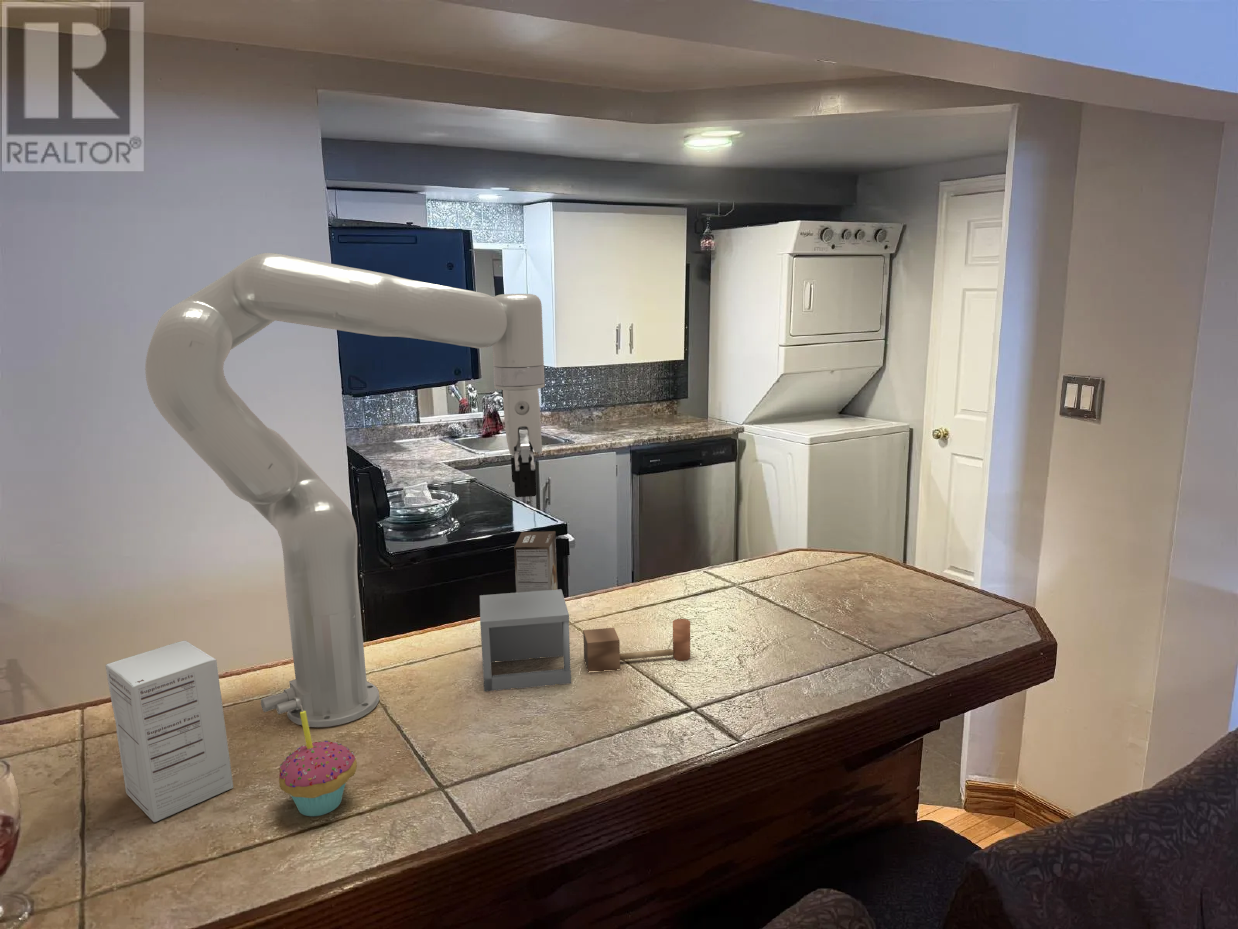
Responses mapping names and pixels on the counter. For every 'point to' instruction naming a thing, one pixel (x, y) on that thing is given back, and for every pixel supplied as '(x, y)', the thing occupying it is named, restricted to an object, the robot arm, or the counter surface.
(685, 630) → the block
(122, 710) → the supplement box
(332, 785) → the cupcake
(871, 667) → the counter surface
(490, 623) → the grey open storage bin
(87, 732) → the counter surface
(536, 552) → the coffee box
